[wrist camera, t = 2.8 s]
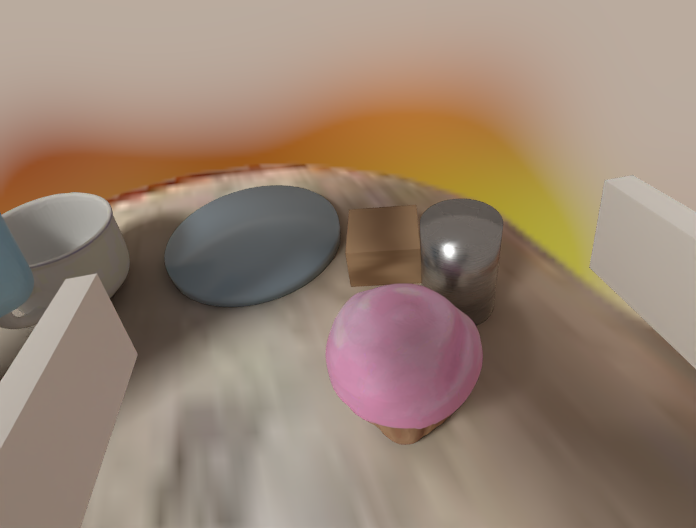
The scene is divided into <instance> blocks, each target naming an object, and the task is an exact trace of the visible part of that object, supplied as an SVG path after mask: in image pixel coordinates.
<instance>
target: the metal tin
mask: <svg viewBox="0 0 696 528" xmlns="http://www.w3.org/2000/svg"><path fill="white" fill-rule="evenodd" d="M502 230H503V219H502V217H501V215H500V214H499V212H498V211H497V210H496V209H494V208H493V207H492V206H490V205H488V204H486V203H483V202H480V201H477V200H471V199H451V200H446V201H442V202H439V203H437V204H434V205H433V206H431V207H430V208H428V209H427V210H426V211H425V212H424V213H423V215H422V217H421V220H420V241H421V277H422V286H424V287H426V288H429V289H431V290H433V291H435V292H437V293H438V294H440V295H442V296H443V297H445V298H446V299H447V300H449V301H450V302H451V303H452V304H453V305H454V306H455V307H456V308H458V309H459V310H460V311H462V312H463V313H464V314H466V315H467V316H468V317H469V318H470V319H471V320H472V321H473V322H474V324H475V326H476V325H478V324H480V323H482V322H484V321H485V320H486V319H487V318H488V317H489V316H490V315H491V313H492V311H493V307H494V299H495V290H496V281H497V273H498V264H499V256H500V247H501V238H502Z"/></svg>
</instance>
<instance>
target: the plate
mask: <svg viewBox="0 0 696 528" xmlns="http://www.w3.org/2000/svg"><path fill="white" fill-rule="evenodd" d="M340 237H341V232H340V225H339V219H338V215H337V213H336V210H335V209H334V207H333V206H332V205H331V203H330V202H329V201H328V200H326V199H325V198H324V197H322V196H321V195H319V194H317V193H315V192H312V191H310V190H307V189H303V188H299V187H293V186H282V185H276V186H261V187H254V188H249V189H245V190H241V191H237V192H234V193H231V194H228V195H225V196H223V197H220V198H218V199H216V200H214V201H212V202H210V203H208V204H206V205H204V206H203V207H201V208H200V209H198V210H196V211H195V212H194V213H192V214H191V215H190V216H189V217H187V218H186V219H185V220H184V221H183V222H182V223H181V224H180V225H179V226H178V227H177V229H176V230H175V231H174V233H173V234H172V236H171V237H170V239H169V241H168V243H167V246H166V250H165V257H164V259H165V266H166V269H167V272H168V274H169V276H170V278H171V279H172V281H173V283H174V284H175V286H176V287H177V288H178V289H179V290H180V291H181V292H182V293H183V294H184V295H186V296H187V297H189V298H191V299H193V300H195V301H197V302H200V303H204V304H207V305H213V306H219V307H240V306H249V305H256V304H260V303H264V302H268V301H271V300H274V299H277V298H280V297H283V296H285V295H287V294H289V293H292V292H294V291H296V290H297V289H299V288H301V287H303V286H304V285H306V284H307V283H309V282H310V281H312V280H313V279H314V278H315V277H317V276H318V275H319V274H320V273H321V272H322V271H323V270H324V269H325V268H326V267H327V266H328V265H329V263H330V262H331V260H332V259H333V258H334V256H335V254H336V252H337V250H338V247H339V243H340Z"/></svg>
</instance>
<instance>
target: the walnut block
mask: <svg viewBox="0 0 696 528" xmlns="http://www.w3.org/2000/svg"><path fill="white" fill-rule="evenodd" d="M345 254H346V260H347V266H348V272H349V278H350V284H351V287H355V286H374V285H391V284H413V283H421V253H420V240H419V229H418V218H417V208H416V205H407V206H393V207H380V208H366V209H352V210H349V216H348V228H347V240H346V252H345Z"/></svg>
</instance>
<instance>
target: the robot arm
mask: <svg viewBox="0 0 696 528" xmlns="http://www.w3.org/2000/svg"><path fill="white" fill-rule="evenodd" d="M589 268H591V270H593V271H594V272H595V273H596V274H597V275H598V276H599V277H600V278H601V279H602V280H603V281H604V282H605V283H606V284H607V285H608V286H609V287H610V288H611V289H612V290H614V291H615V292H616V293H617V294H618V295H619V296H620V297H621V298H622V299H623V300H624V301H625V302H626V303H627V304H628V305H629V306H630V307H631V308H632V309H633V310H634V311H636V312H637V313H638V314H639V315H640V316H641V317H642V318H643V319H644V320H645V321H646V322H647V323H648V324H649V325H650V326H651V327H652V328H653V329H654V330H655V331H656V332H658V333H659V334H660V335H661V336H662V337H663V338H664V339H665V340H666V341H667V342H668V343H669V344H670V345H671V346H672V347H673V348H674V349H675V350H676V351H677V352H678V353H680V354H681V355H682V356H683V357H684V358H685V359H686V360H687V361H688V362H689V363H690V364H691V365H692V366H693V367H694V368H695V369H696V212H695V211H693V210H691V209H690V208H688V207H687V206H685V205H683V204H681V203H680V202H678V201H676V200H674V199H673V198H671V197H669V196H668V195H666V194H664V193H663V192H661V191H659V190H658V189H656V188H654V187H652V186H651V185H649V184H647V183H646V182H643V181H642V180H641V179H639V178H637V177H635V176H634V175H630V176H624V177H619V178H614V179H609V180H605V181H604V187H603V193H602V198H601V204H600V210H599V216H598V221H597V227H596V233H595V239H594V245H593V250H592V256H591V261H590V267H589ZM33 287H34V277H33V273H32V271H31V269H30V267H29V265H28V263H27V261H26V259H25V257H24V255H23V253H22V252H21V250H20V248H19V246H18V244H17V242H16V241H15V239H14V237H13V235H12V233H11V231H10V230H9V228H8V226H7V224H6V222H5V220H4V219H3V217H2V215H1V213H0V318H1V317H3V316H4V315H6V314H8V313H10V312H12V311H13V310H15V309H17V308H18V307H20V306H21V305H22V304H24V303H25V302H26V301H27V300H28V298H29V297H30V295H31V293H32V291H33ZM137 356H138V354H137V352H136V350H135V348H134V346H133V344H132V342H131V340H130V338H129V336H128V334H127V332H126V330H125V328H124V326H123V324H122V322H121V320H120V318H119V316H118V314H117V312H116V310H115V308H114V306H113V304H112V302H111V300H110V298H109V296H108V294H107V292H106V290H105V288H104V286H103V284H102V282H101V280H100V278H99V276H98V274H97V273H96V274H91V275H85V276H80V277H75V278H69V279H65V281H64V283H63V284H62V286H61V287H60V289H59V290H58V292H57V294H56V295H55V297H54V298H53V300H52V301H51V303H50V305H49V306H48V308H47V309H46V311H45V312H44V314H43V316H42V317H41V319H40V320H39V322H38V323H37V325H36V326H35V328H34V330H33V331H32V333H31V334H30V336H29V337H28V339H27V341H26V342H25V344H24V345H23V347H22V348H21V350H20V352H19V353H18V355H17V356H16V358H15V359H14V361H13V363H12V364H11V366H10V367H9V369H8V370H7V372H6V374H5V375H4V377H3V378H2V380H1V381H0V528H80V527H81V524H82V521H83V518H84V515H85V512H86V509H87V506H88V503H89V500H90V497H91V494H92V491H93V488H94V485H95V482H96V479H97V476H98V473H99V470H100V467H101V464H102V461H103V458H104V455H105V452H106V449H107V446H108V443H109V440H110V437H111V434H112V431H113V428H114V425H115V422H116V419H117V416H118V413H119V410H120V407H121V404H122V401H123V398H124V395H125V392H126V389H127V386H128V383H129V380H130V377H131V374H132V371H133V368H134V365H135V362H136V359H137Z"/></svg>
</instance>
